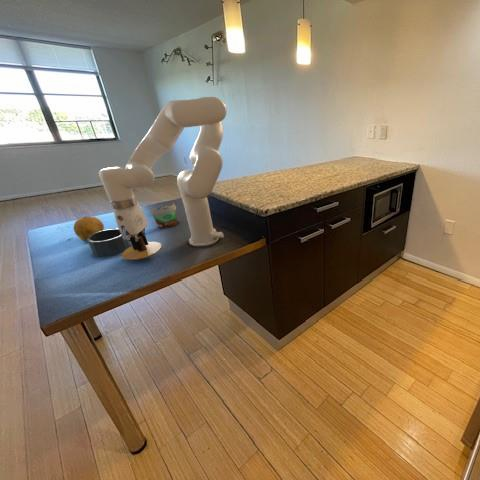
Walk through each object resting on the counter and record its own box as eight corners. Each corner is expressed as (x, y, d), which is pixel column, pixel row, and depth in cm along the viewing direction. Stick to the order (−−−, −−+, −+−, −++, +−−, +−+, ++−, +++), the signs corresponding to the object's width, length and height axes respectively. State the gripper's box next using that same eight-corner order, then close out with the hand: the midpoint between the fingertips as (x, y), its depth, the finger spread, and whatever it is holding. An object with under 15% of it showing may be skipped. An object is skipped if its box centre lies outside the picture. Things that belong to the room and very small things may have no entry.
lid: (168, 243, 110) (163, 229, 106) (152, 260, 98) (146, 245, 94) (135, 244, 109) (129, 230, 106) (114, 262, 97) (107, 246, 94)
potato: (76, 245, 113) (66, 224, 108) (81, 235, 122) (72, 215, 118) (105, 240, 118) (97, 220, 113) (108, 230, 127) (100, 211, 123)
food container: (162, 231, 127) (156, 211, 122) (155, 228, 130) (149, 209, 125) (185, 222, 136) (180, 204, 132) (178, 220, 139) (173, 202, 135)
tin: (137, 243, 115) (131, 228, 112) (119, 258, 104) (112, 241, 101) (107, 244, 115) (101, 228, 111) (86, 258, 103) (78, 242, 100)
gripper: (120, 211, 86) (139, 257, 95) (147, 195, 101) (161, 237, 110) (97, 211, 86) (118, 258, 95) (127, 196, 101) (143, 237, 109)
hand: (141, 246), depth 102 cm, fingers closed on lid, 3 cm apart
